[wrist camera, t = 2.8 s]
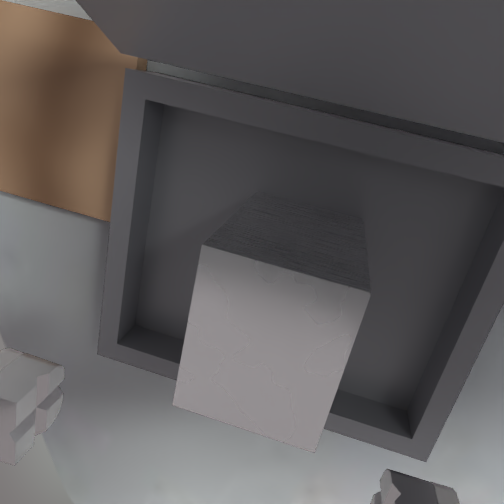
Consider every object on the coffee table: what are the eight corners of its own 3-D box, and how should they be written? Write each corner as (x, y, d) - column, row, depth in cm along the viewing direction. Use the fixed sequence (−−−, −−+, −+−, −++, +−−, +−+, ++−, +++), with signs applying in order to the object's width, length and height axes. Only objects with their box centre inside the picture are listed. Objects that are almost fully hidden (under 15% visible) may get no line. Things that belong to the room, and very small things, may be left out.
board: (150, 35, 20) (140, 31, 19) (129, 220, 23) (119, 225, 22) (13, 4, 21) (-3, -1, 20) (11, 186, 24) (-2, 189, 23)
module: (363, 219, 19) (371, 293, 12) (326, 335, 22) (313, 456, 14) (256, 191, 20) (201, 244, 13) (231, 306, 22) (171, 408, 15)
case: (534, 161, 18) (567, 173, 15) (417, 418, 23) (425, 462, 21) (156, 72, 20) (125, 67, 18) (125, 326, 25) (97, 354, 23)
